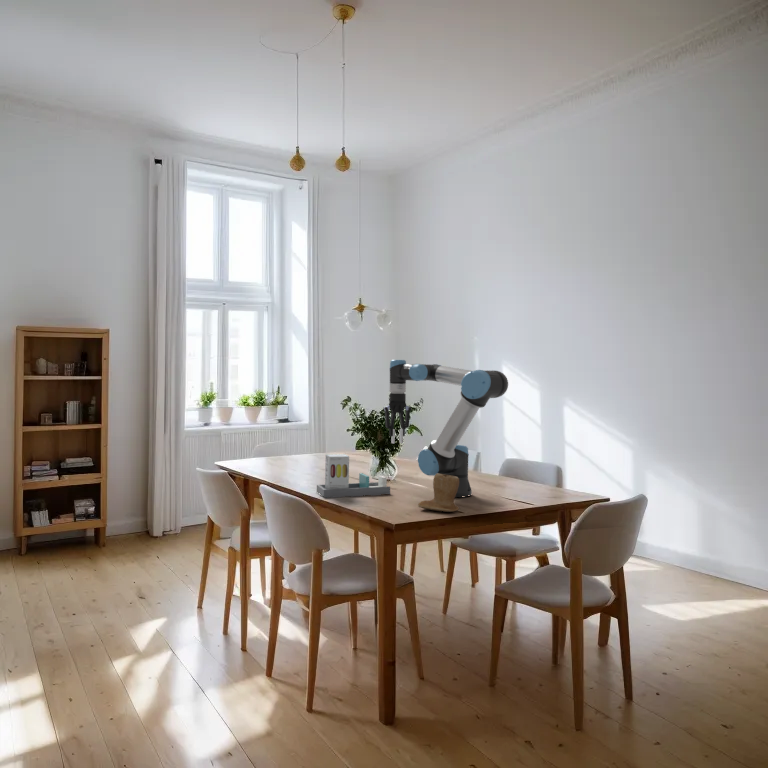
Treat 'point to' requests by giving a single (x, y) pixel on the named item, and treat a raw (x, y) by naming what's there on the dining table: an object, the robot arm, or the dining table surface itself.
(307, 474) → the dining table surface
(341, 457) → the supplement box
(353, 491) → the grey tray
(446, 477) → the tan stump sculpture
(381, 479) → the pusher
